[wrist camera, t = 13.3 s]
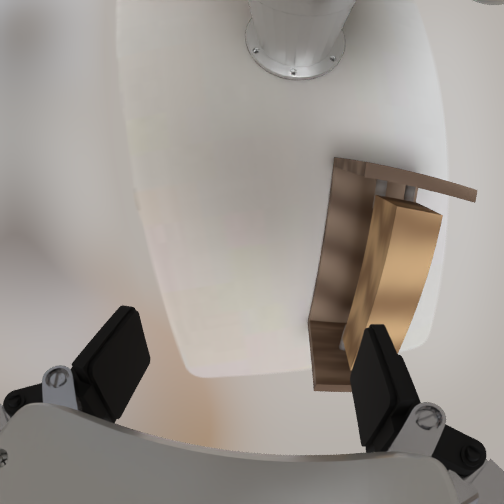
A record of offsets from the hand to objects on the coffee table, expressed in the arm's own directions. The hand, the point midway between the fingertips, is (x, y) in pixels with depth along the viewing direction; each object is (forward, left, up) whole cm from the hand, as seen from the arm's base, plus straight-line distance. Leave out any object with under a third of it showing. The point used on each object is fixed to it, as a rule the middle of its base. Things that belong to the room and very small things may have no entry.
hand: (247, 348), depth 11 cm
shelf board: (+5, +13, -19) cm, 24 cm away
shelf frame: (+5, +13, -27) cm, 30 cm away
